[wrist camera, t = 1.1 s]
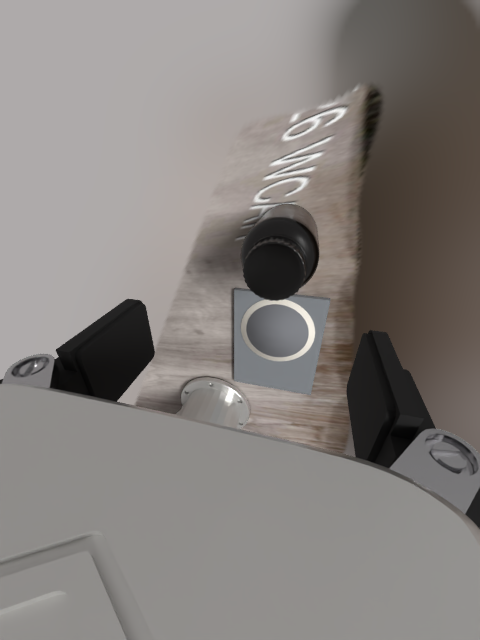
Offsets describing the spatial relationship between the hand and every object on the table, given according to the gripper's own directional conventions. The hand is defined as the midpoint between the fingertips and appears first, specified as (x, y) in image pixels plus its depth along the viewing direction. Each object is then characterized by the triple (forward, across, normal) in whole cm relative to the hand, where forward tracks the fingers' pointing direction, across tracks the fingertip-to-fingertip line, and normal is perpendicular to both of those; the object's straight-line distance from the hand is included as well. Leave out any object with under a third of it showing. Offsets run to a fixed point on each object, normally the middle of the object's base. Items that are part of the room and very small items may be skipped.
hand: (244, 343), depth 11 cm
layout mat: (+22, 0, +15) cm, 26 cm away
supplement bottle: (+22, 0, 0) cm, 22 cm away
